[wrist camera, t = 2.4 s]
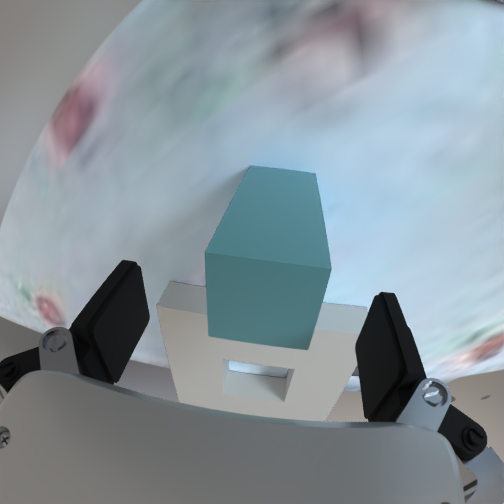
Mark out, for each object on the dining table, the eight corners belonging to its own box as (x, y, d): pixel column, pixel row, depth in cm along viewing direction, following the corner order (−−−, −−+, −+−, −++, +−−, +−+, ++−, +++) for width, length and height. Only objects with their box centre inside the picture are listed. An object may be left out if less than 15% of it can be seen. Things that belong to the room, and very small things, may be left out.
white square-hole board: (432, 312, 22) (442, 337, 19) (372, 405, 30) (374, 426, 28) (170, 281, 24) (156, 305, 21) (187, 385, 32) (180, 405, 30)
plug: (315, 173, 17) (331, 268, 9) (306, 230, 20) (308, 350, 11) (250, 165, 18) (204, 252, 9) (246, 223, 20) (208, 336, 12)
